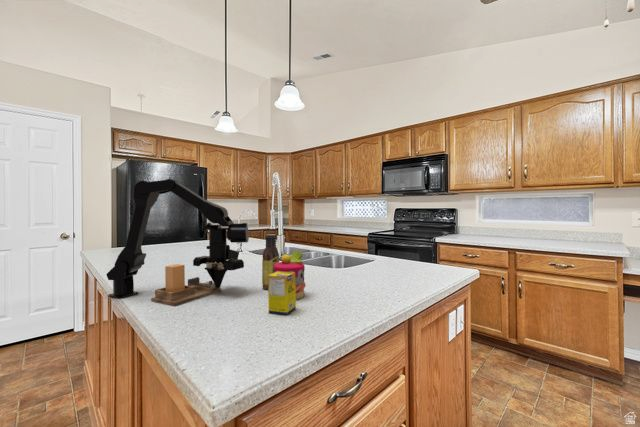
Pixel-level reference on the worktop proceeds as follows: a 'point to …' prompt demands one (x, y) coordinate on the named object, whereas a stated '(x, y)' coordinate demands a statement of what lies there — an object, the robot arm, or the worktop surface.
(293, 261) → the cake
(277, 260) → the sauce bottle
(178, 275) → the block
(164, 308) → the worktop surface
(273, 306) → the supplement box
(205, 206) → the robot arm
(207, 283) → the bolt
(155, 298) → the housing
